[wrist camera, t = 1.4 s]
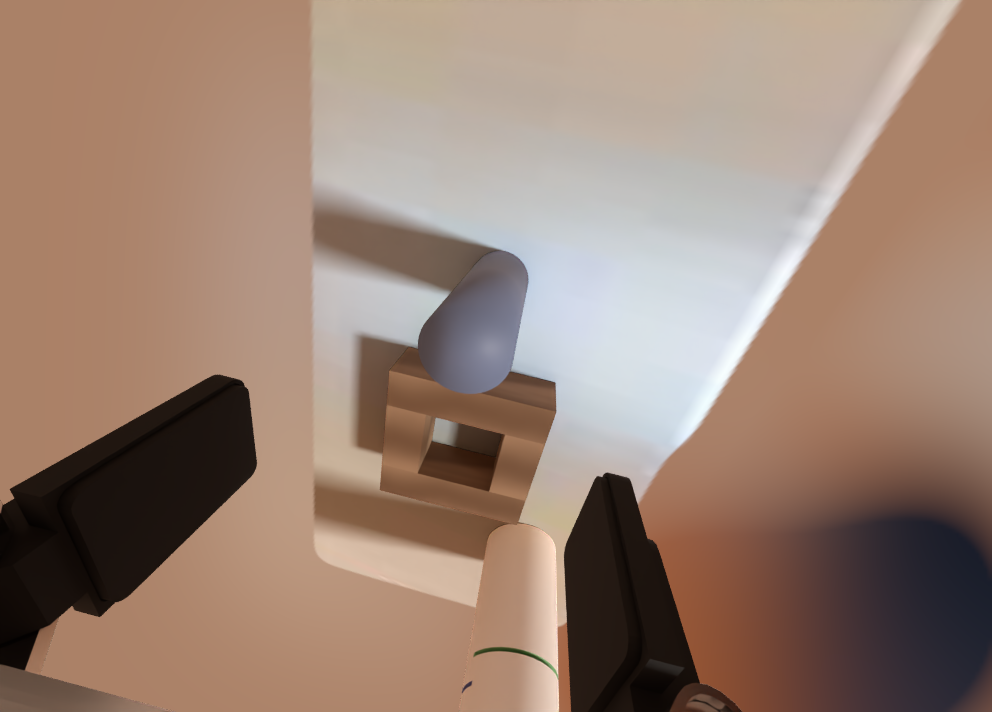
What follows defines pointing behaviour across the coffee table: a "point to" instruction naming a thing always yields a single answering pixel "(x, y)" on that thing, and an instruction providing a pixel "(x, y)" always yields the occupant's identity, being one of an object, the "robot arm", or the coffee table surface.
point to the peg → (476, 326)
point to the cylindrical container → (514, 626)
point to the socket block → (456, 472)
